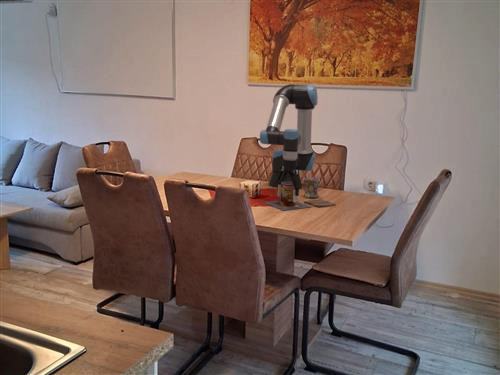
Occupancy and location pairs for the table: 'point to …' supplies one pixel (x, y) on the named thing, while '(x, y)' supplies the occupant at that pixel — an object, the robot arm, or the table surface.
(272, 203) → the frame
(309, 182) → the mug
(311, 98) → the robot arm
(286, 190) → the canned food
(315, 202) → the walnut pad
